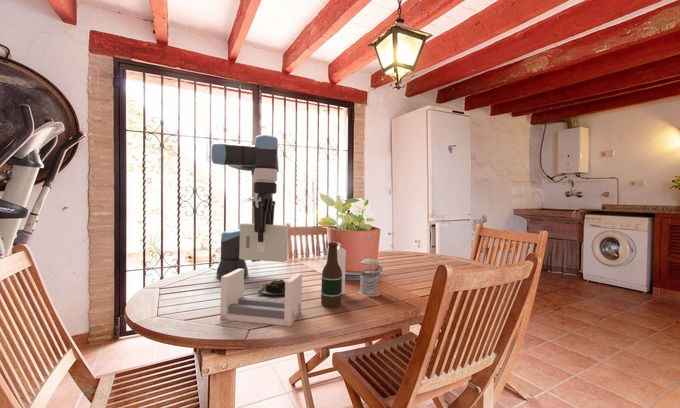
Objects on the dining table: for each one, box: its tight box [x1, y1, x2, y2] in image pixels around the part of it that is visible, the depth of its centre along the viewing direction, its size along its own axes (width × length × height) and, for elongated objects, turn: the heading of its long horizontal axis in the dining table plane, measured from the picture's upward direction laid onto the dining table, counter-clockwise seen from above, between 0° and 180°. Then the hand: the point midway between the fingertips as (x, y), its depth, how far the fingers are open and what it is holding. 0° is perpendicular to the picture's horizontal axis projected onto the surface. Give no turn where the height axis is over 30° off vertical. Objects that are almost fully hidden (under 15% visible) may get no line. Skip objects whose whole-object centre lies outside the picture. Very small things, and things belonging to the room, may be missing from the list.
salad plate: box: [257, 278, 286, 298], centre depth 134 cm, size 19×18×5 cm
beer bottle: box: [320, 241, 342, 309], centre depth 117 cm, size 8×8×24 cm
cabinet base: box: [219, 269, 303, 327], centre depth 105 cm, size 24×12×14 cm, turn 81°
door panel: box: [239, 222, 289, 263], centre depth 104 cm, size 16×3×12 cm, turn 81°
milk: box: [325, 241, 347, 295], centre depth 131 cm, size 6×6×22 cm
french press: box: [358, 236, 383, 295], centre depth 132 cm, size 10×12×25 cm
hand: (263, 250), depth 104 cm, fingers closed on door panel, 3 cm apart
